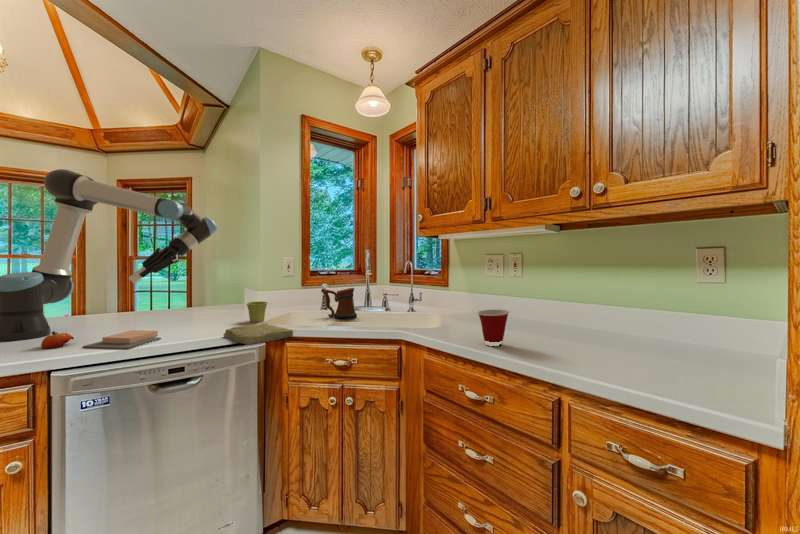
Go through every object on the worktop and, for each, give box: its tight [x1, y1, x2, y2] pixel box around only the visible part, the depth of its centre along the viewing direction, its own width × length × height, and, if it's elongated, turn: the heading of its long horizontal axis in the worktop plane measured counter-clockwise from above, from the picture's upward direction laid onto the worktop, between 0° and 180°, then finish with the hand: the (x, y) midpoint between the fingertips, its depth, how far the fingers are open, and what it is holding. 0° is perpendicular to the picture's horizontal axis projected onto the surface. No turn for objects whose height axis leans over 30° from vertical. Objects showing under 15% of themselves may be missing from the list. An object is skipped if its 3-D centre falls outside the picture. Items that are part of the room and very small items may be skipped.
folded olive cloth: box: [223, 323, 294, 346], centre depth 133 cm, size 19×20×4 cm
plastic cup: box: [477, 308, 510, 342], centre depth 123 cm, size 11×11×12 cm
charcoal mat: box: [82, 337, 162, 350], centre depth 121 cm, size 16×14×1 cm
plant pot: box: [245, 301, 269, 323], centre depth 164 cm, size 9×9×9 cm
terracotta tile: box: [101, 329, 159, 344], centre depth 124 cm, size 10×2×12 cm
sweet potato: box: [40, 330, 75, 350], centre depth 117 cm, size 8×7×7 cm
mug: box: [320, 287, 358, 320], centre depth 176 cm, size 18×12×15 cm, turn 85°
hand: (131, 280), depth 137 cm, fingers closed
